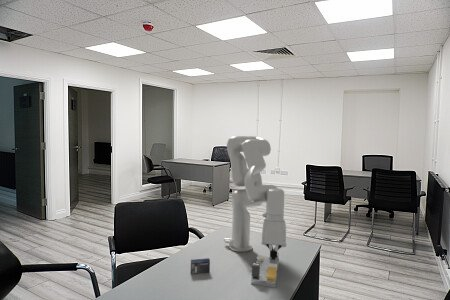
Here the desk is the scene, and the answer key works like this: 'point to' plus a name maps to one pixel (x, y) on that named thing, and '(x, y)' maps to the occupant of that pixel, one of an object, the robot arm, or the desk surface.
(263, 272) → the panel
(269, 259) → the slate rocker
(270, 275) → the amber rocker
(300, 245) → the desk surface
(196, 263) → the mini dv tape
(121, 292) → the desk surface
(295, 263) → the desk surface
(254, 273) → the slider knob
